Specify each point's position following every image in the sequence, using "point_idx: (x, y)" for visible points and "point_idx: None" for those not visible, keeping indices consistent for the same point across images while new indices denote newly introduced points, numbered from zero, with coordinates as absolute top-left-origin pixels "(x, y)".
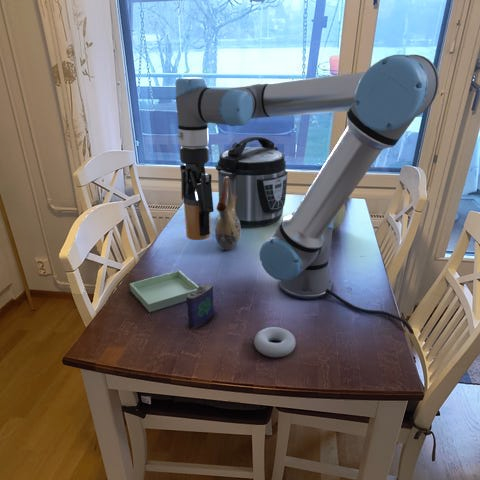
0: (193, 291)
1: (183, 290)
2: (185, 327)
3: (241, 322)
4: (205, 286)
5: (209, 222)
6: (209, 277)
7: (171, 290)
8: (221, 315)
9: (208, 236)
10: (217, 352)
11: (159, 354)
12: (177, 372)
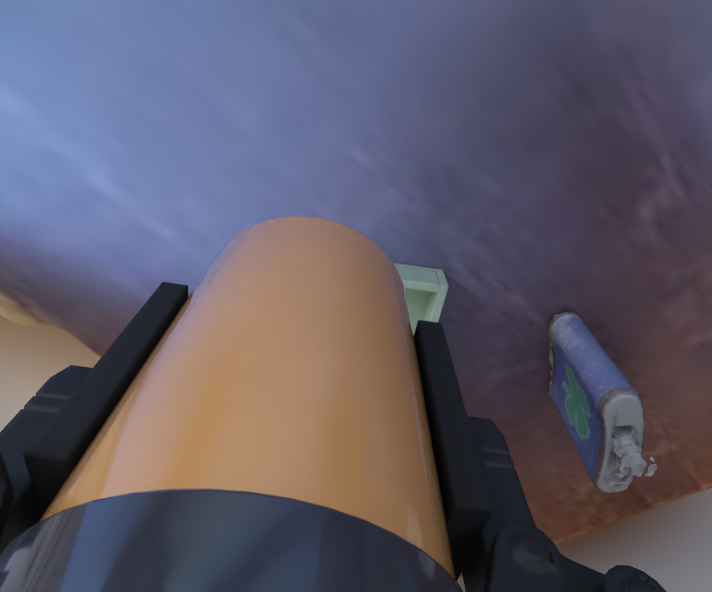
0: (439, 317)
1: None
2: (547, 407)
3: (697, 276)
4: (612, 415)
5: (409, 347)
6: (328, 134)
7: None
8: (603, 298)
9: (406, 296)
10: (709, 412)
11: (577, 493)
12: (660, 498)
